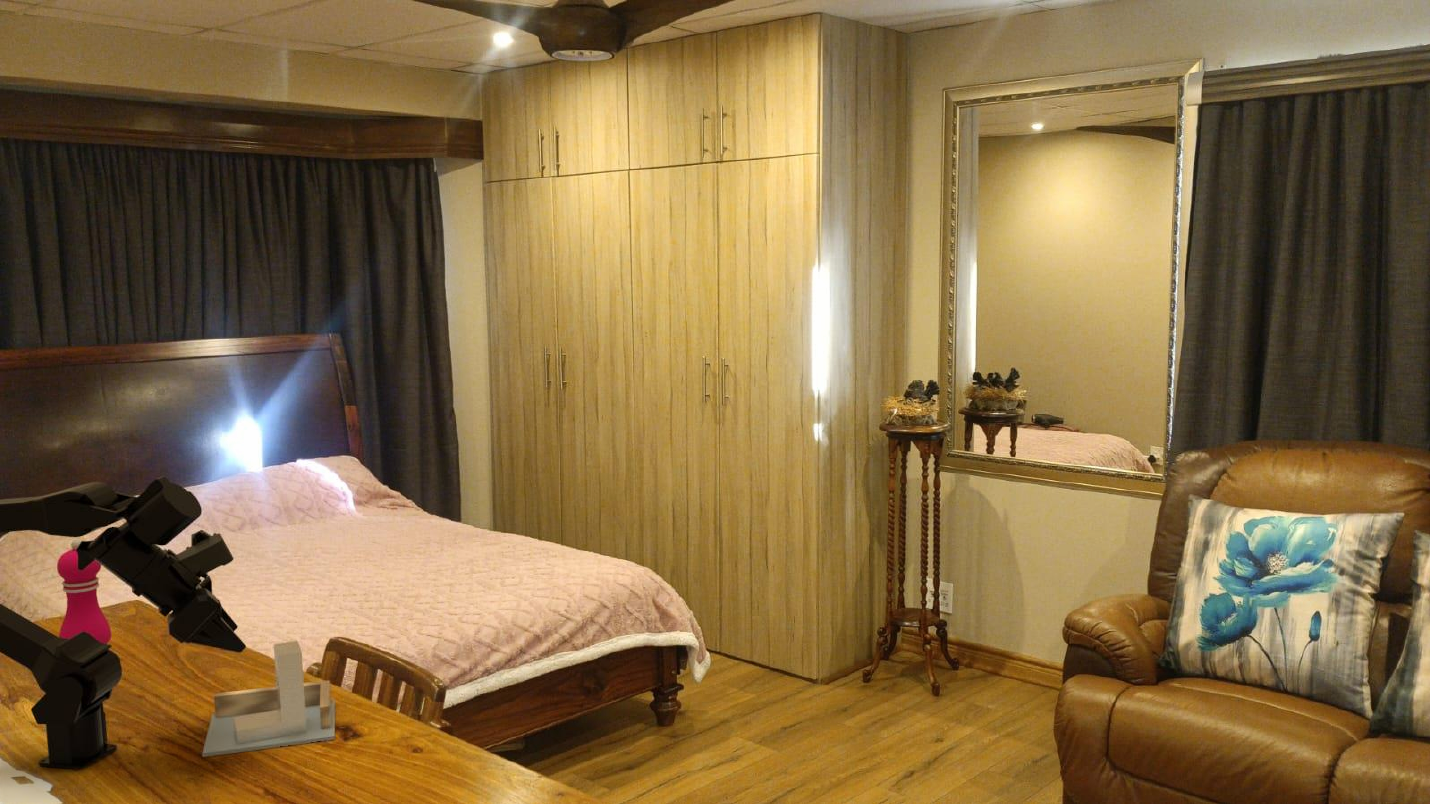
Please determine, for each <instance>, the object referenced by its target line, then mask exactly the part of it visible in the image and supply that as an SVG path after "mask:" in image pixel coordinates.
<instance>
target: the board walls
mask: <svg viewBox="0 0 1430 804" xmlns="http://www.w3.org/2000/svg"><path fill="white" fill-rule="evenodd" d="M304 698H305V707H307V706H315V705H320V717H321V729H325V728H331V700H332V697H331V681H330V680H319V681H313V682H312V681H311V682H304ZM213 700H214V701H213V702H214V704H213V705H214V715H215V718H218V717H226V716H234V715H242V714H250V713H258V712H267V711H274V710H278V705H277V688H276V686H269V687H260V688H259V687H258V688H252V689H251V688H250V689H242V690H235V691H225V692H218V693H217V692H216V693H214V696H213Z"/></svg>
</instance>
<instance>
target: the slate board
mask: <svg viewBox="0 0 1430 804" xmlns="http://www.w3.org/2000/svg"><path fill="white" fill-rule="evenodd" d="M335 707H336V701H335V700H334V699H331V728H325V729H321V717H320V705H315V706H307V707H305V715H306V732H304V733H298V734H293V735H287V736H282V737H276V738H271V739H265V740H259V741H254V742H248V743H243V744H237V740H236V734H235V726H234V717H239V716H245V715H251V714H257V713H250V714H242V715H234V716H226V717H218V718H215V714H212V715H211V718H210V723H209V726H208V730H207V734H206V738H205V741H204V746H203V750H202V753H201V755H202V758H205V757H206V758H207V757H213V756H222V755H228V754H236V753H244V752H245V753H246V752H251V751H253V752H254V751H259V750H265V749H274V748H281V747H280V746H283V747H288V745H291V746H297V745H305V744H312V743H311V742H313V743H318V742H317V741H321V742H327V741H334V740H335V739H336V737H335V736H336V735H335V734H336V731H335V730H336V729H335V728H336V724H335V722H336V721H335V720H336V715H335V714H336V708H335ZM267 712H269V711H267ZM258 713H263V712H258ZM325 740H326V741H325Z"/></svg>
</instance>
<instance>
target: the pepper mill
mask: <svg viewBox="0 0 1430 804" xmlns="http://www.w3.org/2000/svg"><path fill="white" fill-rule="evenodd" d="M82 541H83V540H82V539H81V538H76V539H73V540H72V542H71V543H70V545H71V548H72V549H69V550H67V551H65V552H64V553H62V554H61V555H60V557H59V558H58V561H57V565H56V568H57V569H56V570H57V574H58V575H59V577H61V578H62V579H63V581H62V582H61V584H62V591H63V592H64V593H65V594H66V611H65V614H64V618H63V621H62V623H61V626H60V630H59V634H58V637H60V638H66V639H70V638H72V637H74V636H75V635H77V634H79V633H80V632H82V631H84V632H86V633H88V634H90V635H91V636H93V637H94V638H95V639H96V640H98V641H99V642H102V643H104V644H108V643H109V642H110V641H111V638H112V629H111V625H110V624H109V622H108V619H107V618H106V616H105V614H104V613H103V611H102V609H101V607H100V605H99V604H100V603H99V599H98V595H97V591H98V590H97V589H98V588H99V587H100V583H99V580H100V579H99V577H97V575H98V574H99V572H100V571H101V569H102V565H101V564H99V563H98V562H97V561H95V560H94V561H93V562H92V563H91V564H90V565H88V566H87V567H86V568H85V569H84V570H79V569H78V555H77V552H76V549H77V548H78V546H79V544H80V543H81V542H82Z"/></svg>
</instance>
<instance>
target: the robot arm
mask: <svg viewBox="0 0 1430 804" xmlns="http://www.w3.org/2000/svg"><path fill="white" fill-rule="evenodd" d="M202 511H203V510H202V506H201V504H200V502H199V500H198V498H197V497H196V495H194V493H193V492H192V491H189V490H187V489H186V488H184V487H182V486H181V485H180V484H177V483H174V482H171V481H170V480H169V479H168V478H167V477H166V476H163V475H162V476H160V477H158V478H156V479H154V480H153V481H152V482H151V483H149V484H148V486H147V487H146V489H145V490H144V491H143V492H141V493H140V494H139V495H138V496H134V495H130V494H125V493H122V492H118V491H115V490H114V489H113V488H112V487H110V485H109V484H108V483H105V482H102V481H92V482H89V483H85V484H80V485H78V486H73V487H70V488H66V489H63V490H60V491H56V492H52V493H48V494H44V495H40V496H39V495H38V496H30V497H28V496H27V497H16V498H15V497H14V498H3V499H2V498H0V533H8V532H10V533H11V532H23V531H33V532H41V533H43V534H45V535H48V536H55V537H56V536H57V537H67V538H80V537H84V536H86V535H88V534H90V533H92V532H95V531H97V530H99V529H102V528H105V530H103V531H102V532H101V533H100V534H99V535H97V537H95V539H92V540H86V541H85V540H82V542H81V543H80V544H79V546H78V548H77V549H76V552H77V555H78V569H79V570H84V569H85V568H86V567H87V566H88V565H90V564H91V563H92V562H93V561H94V560H95V561H97V562H98V563H99V564H101V567H103V568H105V569H106V570H108V571H109V572H110V573H111V574H113V575H114V576H115V577H117V578H118V579H119V580H120V581H122V582H124V583H125V584H126V585H127V586H128V587H130V588H131V593H133V594H134V595H136V596H137V598H138V597H140V596H142V597H143V598H144V599H145V600H147V601H149V602H150V603H151V604H152V605H153V606H155V607H156V608H157V609H158V613H159V614H160V615H162V616H163V617H164V618H166V619H167V629H168V630H167V631H168V633H169V636H171V637H173V638H174V639H175V640H176V641H178V642H179V643H181V644H183V643H185V644H194V645H202V646H205V647H206V646H207V647H210V648H215V649H216V648H217V649H220V650H225V651H229V652H234V653H238V654H240V653H241V654H242V653H243V651H244V650H245V649H246V648H247V645H246V644H245V643H244V642H243V640H242V639H241V638H240V637H239V636H238V634H237V633H236V632H235V631H236V630H237V629H238V625H237V623H236V622H235V620H233V618H232V617H231V616H230V615H229V613H228V612H227V611H226V610H225V608H224V607H223V606H222V603H221V601H220V599H219V598H218V597H216V596H215V594H214V593H213V581H212V577H211V576H210V575H209V573H210V572H212V571H213V570H215V569H217V568H219V567H221V566H226V565H228V564H230V563H232V562H233V560H234V559H235V558H234V556H233V554H232V553H231V551H230V549H229V547H228V546H227V544H226V542H225V540H224V538H223V536H222V535H221V533H216V532H214V533H213V534H212V535H211V534H210V533H207V532H206V531H205V530H203V529H200V530H198V531H196V532H194V533H193V534H191V538H190V541H191V542H190V543H191V545H190V546H186V548H185V550H184V549H183V550H182V551H181V552H179V553H176V552H174V551H173V550H171V549H170V548H168V549H167V548H164V549H162V548H161V547H160V546H167V545H168V544H169V543H170V542H172V541H173V540H174V539H175V538H177V536H179V535H180V534H182V532H183V531H184V530H186V529H187V528H188V527H189V526H190V525H192V524H193V523H194V522H195V521H196V520H198V518H200V517H201V516H202V513H203V512H202ZM122 520H125V522H124V523H122V524H121V525H119V526H111V525H112V524H115V523H118V522H120V521H122ZM108 526H110V527H108ZM106 527H107V528H106ZM201 578H203V579H201ZM112 646H113V645H112V644H108V643H107V644H104V643H102V642H99V641H98V640H96V639H95V638H94V637H93V636H91V635H90V634H88V633H86V632H84V631H82V632H80V633H79V634H77V635H75V636H74V637H72V638H70V639H66V638H60V637H59V636H57V635H55V634H53V633H52V632H51V631H48V630H46V629H45V628H43V627H42V626H40V625H38V624H36V623H34V622H33V621H31V620H29V619H28V618H26V617H24V616H23V615H21V614H19V613H17V612H16V611H14V610H12V609H10V608H8V607H7V606H5V605H3V604H2V603H0V654H2V655H3V656H5V657H7V658H8V659H11V660H12V661H13V662H16V663H18V664H19V665H21V666H23V667H25V668H26V669H27V670H29V672H31V674H32V675H33V677H34V680H36V682H37V685H38V688H39V689H40V690H41V691H42V692H43V693H45V694H44V695H43V696H42V697H41V698H40V699H38V701H37V702H36V703H35V704H34V705H33V706H32V707H31V709H30V710H31V711H30V712H31V713H32V715H33V718H34V719H35V722H36V724H37V725H45V728H46V729H45V730H46V741H47V752H48V755H47V756H45V757H44V758H42V759H39V761H38V766H41V767H50V768H60V769H61V768H62V769H71V770H72V769H73V770H83V769H85V768H87V767H89V766H91V765H92V764H94V763H96V762H97V761H99V760H100V759H102V758H104V757H105V756H107V755H109V754H111V753H113V752H115V750H117V749H118V745H117V744H116V743H115V744H114V743H108V731H107V729H108V728H107V720H106V719H107V718H106V713H105V710H104V702H105V701H107V700H109V699H110V698H111V696H112V693H113V690H114V688H115V687H116V686H117V685H118V684H119V682H120V681H121V678H122V675H123V667H122V664H121V658H120V657H119V656H118V655H117V654H116V653H115V652H114V651H113V650H110V649H112Z"/></svg>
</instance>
